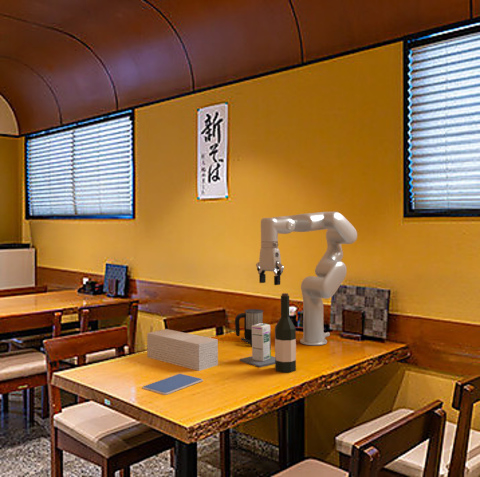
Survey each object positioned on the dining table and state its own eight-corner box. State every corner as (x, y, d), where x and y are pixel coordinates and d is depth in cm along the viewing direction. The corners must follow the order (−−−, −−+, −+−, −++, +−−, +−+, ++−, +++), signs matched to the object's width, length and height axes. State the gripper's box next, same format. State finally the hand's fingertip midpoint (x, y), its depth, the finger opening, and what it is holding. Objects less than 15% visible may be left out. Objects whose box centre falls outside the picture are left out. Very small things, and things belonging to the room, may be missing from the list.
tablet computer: (165, 397, 175) (165, 393, 175) (140, 389, 183) (140, 386, 183) (204, 382, 190) (204, 378, 190) (179, 376, 198) (179, 373, 198)
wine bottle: (298, 367, 206) (297, 292, 205) (293, 373, 198) (293, 295, 197) (277, 365, 209) (277, 291, 208) (272, 371, 201) (271, 294, 200)
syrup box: (263, 361, 212) (263, 326, 212) (251, 359, 216) (251, 324, 215) (271, 358, 217) (270, 324, 216) (259, 356, 220) (259, 322, 220)
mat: (262, 355, 225) (262, 353, 225) (283, 361, 215) (283, 359, 215) (239, 360, 217) (239, 358, 217) (260, 367, 207) (260, 365, 207)
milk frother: (258, 337, 259) (258, 308, 258) (272, 344, 244) (272, 313, 244) (232, 340, 253) (232, 310, 253) (245, 347, 239) (244, 315, 238)
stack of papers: (147, 357, 224) (147, 333, 224) (166, 352, 232) (166, 328, 232) (199, 371, 203) (198, 344, 203) (218, 365, 211) (217, 339, 211)
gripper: (289, 245, 226) (289, 284, 227) (262, 244, 240) (263, 281, 240) (276, 246, 222) (276, 286, 222) (250, 245, 235) (250, 282, 236)
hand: (269, 283), depth 231 cm, fingers open, 9 cm apart
